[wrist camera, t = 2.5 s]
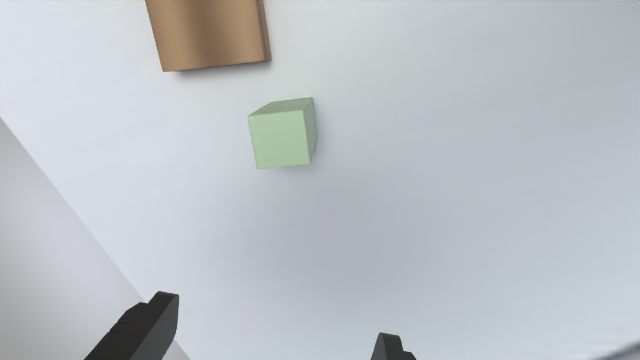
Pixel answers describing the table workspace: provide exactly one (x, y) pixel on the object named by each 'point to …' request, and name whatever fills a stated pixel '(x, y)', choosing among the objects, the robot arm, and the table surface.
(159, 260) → the table surface
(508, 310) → the table surface
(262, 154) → the pillar
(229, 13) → the plinth
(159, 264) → the table surface
